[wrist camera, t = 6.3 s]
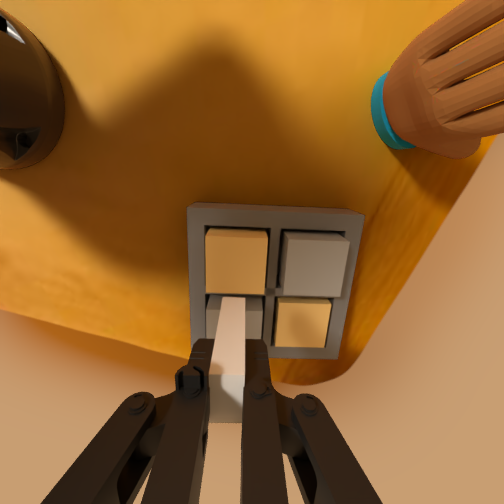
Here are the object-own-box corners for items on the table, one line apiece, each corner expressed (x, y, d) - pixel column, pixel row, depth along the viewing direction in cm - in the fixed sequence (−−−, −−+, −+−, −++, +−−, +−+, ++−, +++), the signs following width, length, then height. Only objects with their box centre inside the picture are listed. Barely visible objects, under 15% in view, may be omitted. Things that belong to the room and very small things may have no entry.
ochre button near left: (210, 276, 29) (205, 292, 26) (210, 226, 28) (205, 236, 24) (261, 278, 30) (264, 294, 26) (264, 229, 28) (268, 238, 24)
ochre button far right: (271, 326, 34) (275, 346, 30) (275, 286, 32) (279, 302, 28) (315, 327, 34) (324, 347, 30) (321, 288, 32) (331, 304, 29)
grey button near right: (278, 278, 30) (283, 294, 26) (282, 229, 28) (288, 239, 24) (328, 280, 30) (340, 296, 26) (335, 232, 28) (349, 241, 24)
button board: (198, 333, 35) (191, 356, 31) (195, 201, 30) (186, 207, 25) (326, 336, 36) (337, 359, 32) (348, 208, 30) (365, 215, 26)
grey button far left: (211, 333, 32) (206, 356, 28) (211, 291, 30) (206, 309, 26) (257, 335, 32) (259, 357, 28) (260, 293, 30) (262, 311, 27)
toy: (450, 153, 29) (653, 139, 14) (392, 182, 29) (529, 195, 15) (423, 39, 25) (656, -130, 11) (358, 76, 26) (495, -37, 12)
